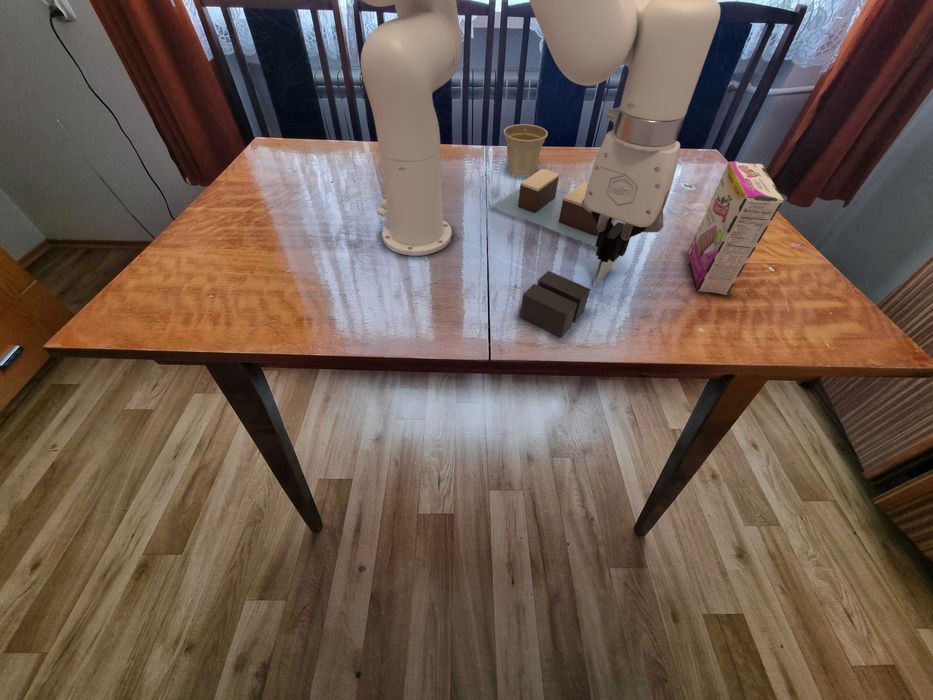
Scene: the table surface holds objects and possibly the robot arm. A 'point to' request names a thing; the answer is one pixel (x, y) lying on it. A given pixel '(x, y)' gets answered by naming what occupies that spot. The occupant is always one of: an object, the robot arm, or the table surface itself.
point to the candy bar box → (732, 226)
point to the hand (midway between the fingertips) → (608, 254)
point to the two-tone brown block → (538, 190)
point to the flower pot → (524, 147)
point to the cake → (577, 211)
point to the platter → (547, 216)
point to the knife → (607, 252)
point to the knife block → (554, 303)
